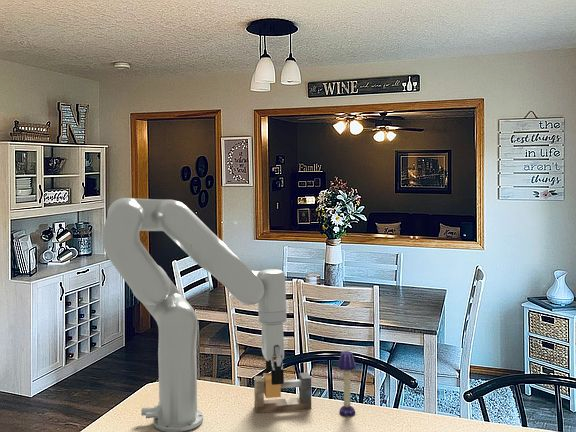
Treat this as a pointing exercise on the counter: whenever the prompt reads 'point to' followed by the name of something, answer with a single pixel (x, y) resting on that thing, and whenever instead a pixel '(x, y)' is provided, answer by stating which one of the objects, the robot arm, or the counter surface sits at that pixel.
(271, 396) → the sleeve
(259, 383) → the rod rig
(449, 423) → the counter surface
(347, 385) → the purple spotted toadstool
